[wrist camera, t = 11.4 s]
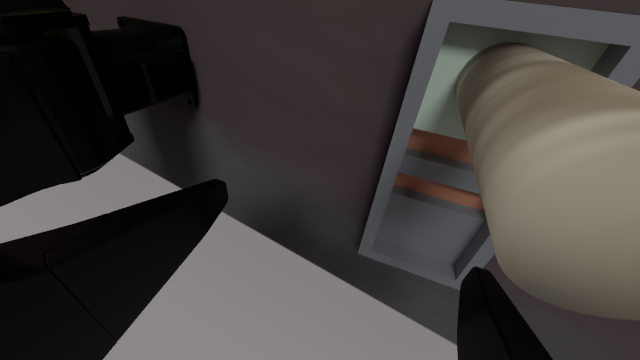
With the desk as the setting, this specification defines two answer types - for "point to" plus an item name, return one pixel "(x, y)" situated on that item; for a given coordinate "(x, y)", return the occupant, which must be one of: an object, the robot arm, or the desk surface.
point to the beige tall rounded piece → (557, 176)
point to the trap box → (449, 136)
